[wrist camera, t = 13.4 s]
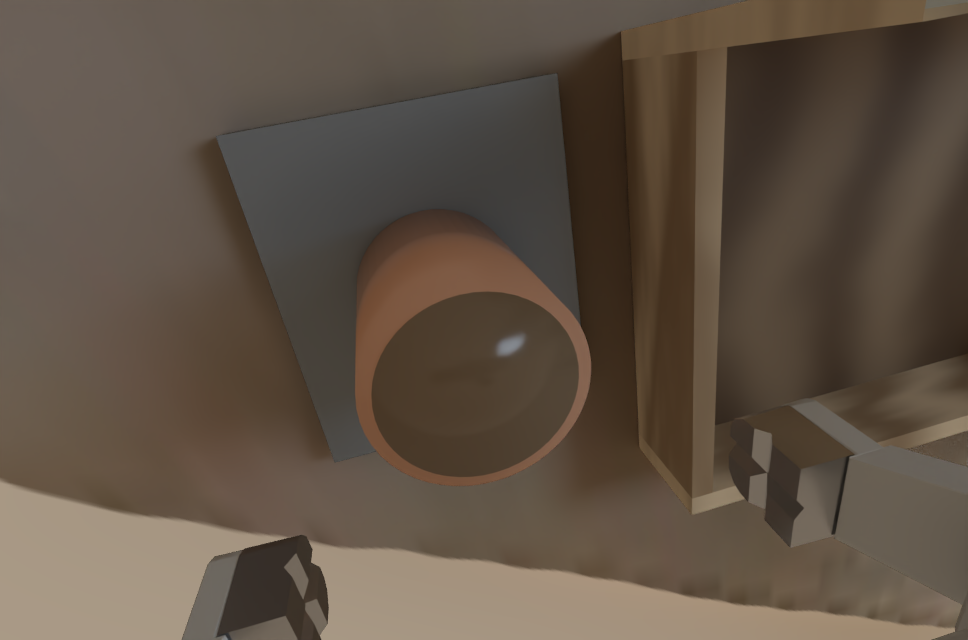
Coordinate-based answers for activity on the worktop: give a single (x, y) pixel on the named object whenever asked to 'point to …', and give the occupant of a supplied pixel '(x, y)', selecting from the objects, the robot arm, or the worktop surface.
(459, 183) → the slate tile
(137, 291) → the worktop surface
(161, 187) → the worktop surface
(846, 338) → the brown patterned open box
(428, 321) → the terracotta pot
